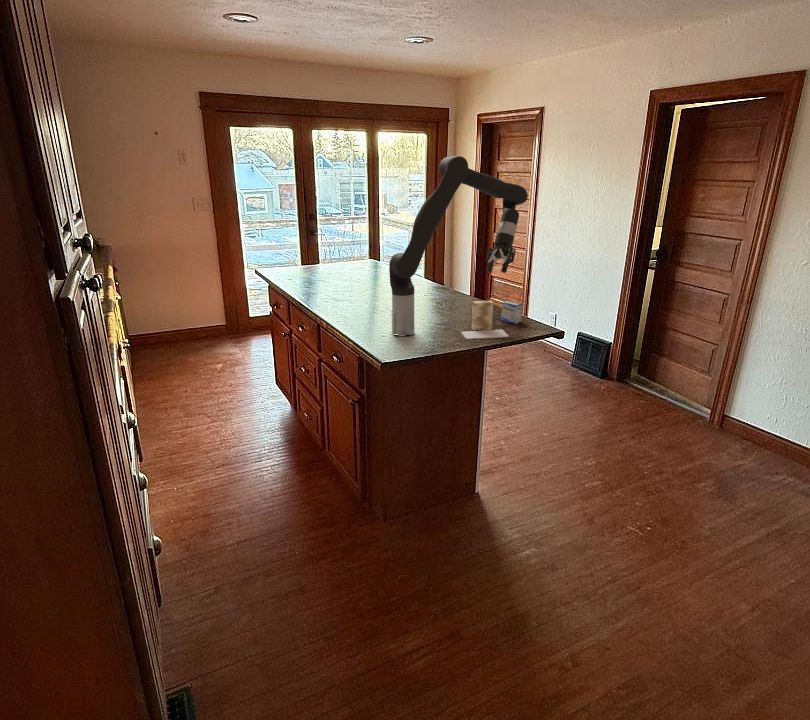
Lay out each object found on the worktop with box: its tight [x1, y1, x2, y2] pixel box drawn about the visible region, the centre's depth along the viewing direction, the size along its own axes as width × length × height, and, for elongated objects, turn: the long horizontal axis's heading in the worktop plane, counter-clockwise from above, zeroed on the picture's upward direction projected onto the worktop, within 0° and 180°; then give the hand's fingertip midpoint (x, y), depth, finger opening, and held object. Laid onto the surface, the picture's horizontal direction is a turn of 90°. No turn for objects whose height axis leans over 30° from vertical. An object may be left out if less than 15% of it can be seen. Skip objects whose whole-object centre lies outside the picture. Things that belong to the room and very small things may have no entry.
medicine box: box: [500, 300, 523, 325], centre depth 231 cm, size 8×4×9 cm, turn 45°
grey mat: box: [460, 329, 510, 340], centre depth 215 cm, size 18×9×1 cm, turn 98°
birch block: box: [471, 299, 494, 331], centre depth 221 cm, size 8×4×12 cm, turn 98°
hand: (496, 272), depth 216 cm, fingers open, 8 cm apart
